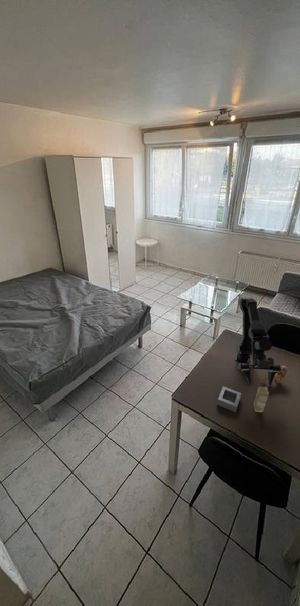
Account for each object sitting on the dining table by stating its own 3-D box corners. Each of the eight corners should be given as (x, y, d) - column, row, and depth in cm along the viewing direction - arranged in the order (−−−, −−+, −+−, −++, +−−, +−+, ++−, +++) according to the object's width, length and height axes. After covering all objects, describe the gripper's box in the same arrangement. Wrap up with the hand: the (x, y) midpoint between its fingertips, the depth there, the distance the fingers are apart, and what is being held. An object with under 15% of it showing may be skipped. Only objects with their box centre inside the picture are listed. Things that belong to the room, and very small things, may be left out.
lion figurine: (278, 374, 142) (282, 362, 137) (286, 381, 137) (290, 368, 133) (258, 383, 136) (262, 371, 131) (266, 391, 132) (271, 378, 127)
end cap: (221, 391, 131) (223, 386, 129) (239, 398, 128) (241, 393, 126) (216, 404, 125) (218, 399, 123) (235, 412, 121) (237, 406, 119)
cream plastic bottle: (253, 405, 124) (258, 386, 118) (260, 406, 124) (266, 387, 117) (255, 411, 121) (261, 392, 115) (262, 412, 121) (269, 393, 114)
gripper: (243, 350, 118) (244, 385, 114) (285, 352, 117) (288, 388, 112) (237, 352, 129) (238, 384, 125) (275, 354, 127) (277, 387, 123)
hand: (260, 386), depth 121 cm, fingers open, 9 cm apart
